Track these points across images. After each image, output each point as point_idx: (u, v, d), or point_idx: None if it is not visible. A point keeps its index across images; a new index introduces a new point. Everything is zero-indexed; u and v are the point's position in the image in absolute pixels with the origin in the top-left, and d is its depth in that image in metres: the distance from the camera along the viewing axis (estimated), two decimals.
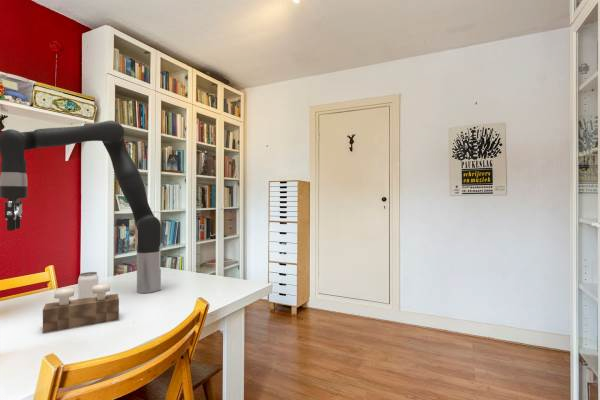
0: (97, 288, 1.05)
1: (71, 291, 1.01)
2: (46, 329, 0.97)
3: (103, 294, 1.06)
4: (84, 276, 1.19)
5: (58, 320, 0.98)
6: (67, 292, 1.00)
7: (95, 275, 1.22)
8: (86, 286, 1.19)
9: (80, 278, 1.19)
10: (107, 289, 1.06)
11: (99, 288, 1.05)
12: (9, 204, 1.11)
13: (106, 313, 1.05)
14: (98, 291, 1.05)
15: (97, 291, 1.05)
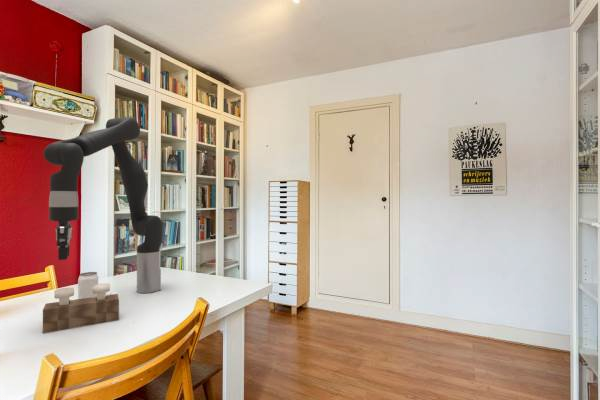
0: (97, 288, 1.05)
1: (71, 291, 1.01)
2: (46, 329, 0.97)
3: (103, 294, 1.06)
4: (84, 276, 1.19)
5: (58, 320, 0.98)
6: (67, 292, 1.00)
7: (95, 275, 1.22)
8: (86, 286, 1.19)
9: (80, 278, 1.19)
10: (107, 289, 1.06)
11: (99, 288, 1.05)
12: (61, 230, 0.96)
13: (106, 313, 1.05)
14: (98, 291, 1.05)
15: (97, 291, 1.05)
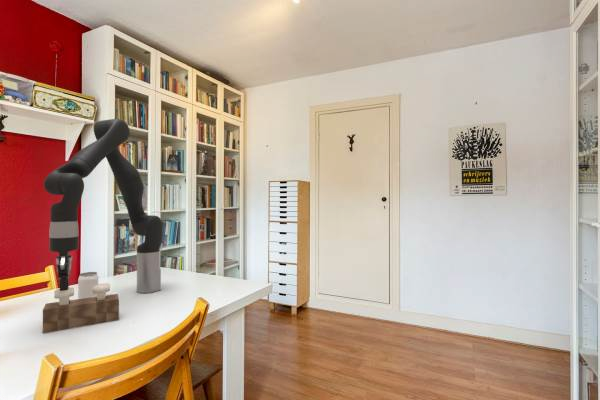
0: (97, 288, 1.05)
1: (71, 291, 1.01)
2: (46, 329, 0.97)
3: (103, 294, 1.06)
4: (84, 276, 1.19)
5: (58, 320, 0.98)
6: (67, 292, 1.00)
7: (95, 275, 1.22)
8: (86, 286, 1.19)
9: (80, 278, 1.19)
10: (107, 289, 1.06)
11: (99, 288, 1.05)
12: (62, 268, 0.97)
13: (106, 313, 1.05)
14: (98, 291, 1.05)
15: (97, 291, 1.05)
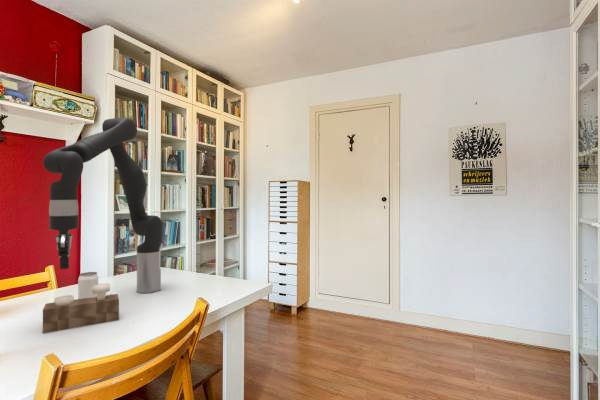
0: (97, 288, 1.05)
1: (71, 299, 1.01)
2: (46, 329, 0.97)
3: (103, 294, 1.06)
4: (84, 276, 1.19)
5: (58, 320, 0.98)
6: (67, 300, 1.00)
7: (95, 275, 1.22)
8: (86, 286, 1.19)
9: (80, 278, 1.19)
10: (107, 289, 1.06)
11: (99, 288, 1.05)
12: (62, 245, 0.97)
13: (106, 313, 1.05)
14: (98, 291, 1.05)
15: (97, 291, 1.05)
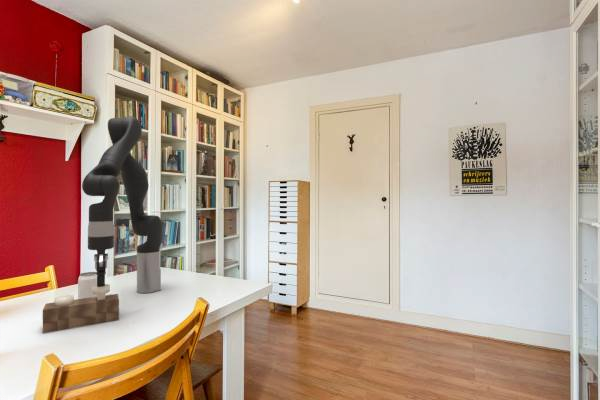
0: (97, 289, 1.05)
1: (71, 299, 1.01)
2: (46, 329, 0.97)
3: (103, 295, 1.06)
4: (84, 276, 1.19)
5: (58, 320, 0.98)
6: (67, 300, 1.00)
7: (95, 275, 1.22)
8: (86, 286, 1.19)
9: (80, 278, 1.19)
10: (107, 290, 1.06)
11: (99, 289, 1.05)
12: (101, 265, 1.02)
13: (106, 313, 1.05)
14: (98, 292, 1.05)
15: (97, 292, 1.05)
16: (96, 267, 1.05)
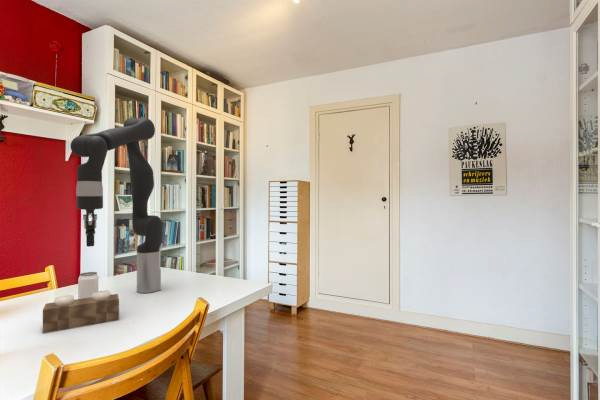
0: (97, 296, 1.05)
1: (71, 299, 1.01)
2: (46, 329, 0.97)
3: None
4: (84, 276, 1.19)
5: (58, 320, 0.98)
6: (67, 300, 1.00)
7: (95, 275, 1.22)
8: (86, 286, 1.19)
9: (80, 278, 1.19)
10: (107, 296, 1.06)
11: (99, 296, 1.05)
12: (90, 223, 1.03)
13: (106, 313, 1.05)
14: (98, 299, 1.05)
15: (97, 299, 1.05)
16: (85, 226, 1.06)
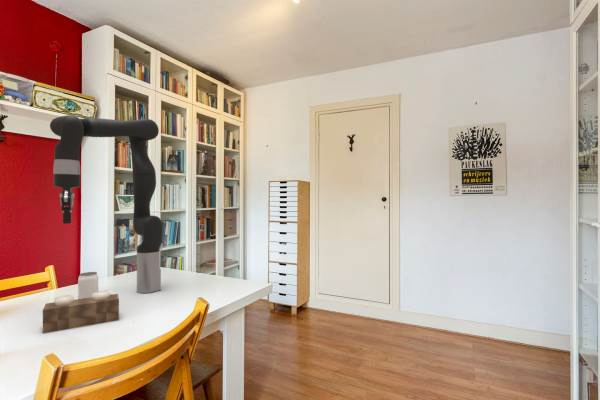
0: (97, 296, 1.05)
1: (71, 299, 1.01)
2: (46, 329, 0.97)
3: None
4: (84, 276, 1.19)
5: (58, 320, 0.98)
6: (67, 300, 1.00)
7: (95, 275, 1.22)
8: (86, 286, 1.19)
9: (80, 278, 1.19)
10: (107, 296, 1.06)
11: (99, 296, 1.05)
12: (65, 200, 1.06)
13: (106, 313, 1.05)
14: (98, 299, 1.05)
15: (97, 299, 1.05)
16: (62, 204, 1.09)
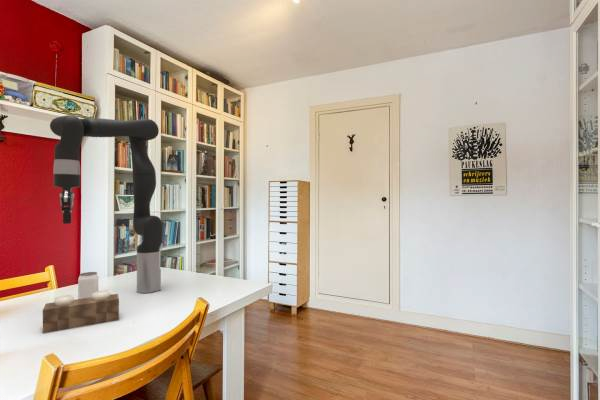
0: (97, 296, 1.05)
1: (71, 299, 1.01)
2: (46, 329, 0.97)
3: None
4: (84, 276, 1.19)
5: (58, 320, 0.98)
6: (67, 300, 1.00)
7: (95, 275, 1.22)
8: (86, 286, 1.19)
9: (80, 278, 1.19)
10: (107, 296, 1.06)
11: (99, 296, 1.05)
12: (65, 200, 1.06)
13: (106, 313, 1.05)
14: (98, 299, 1.05)
15: (97, 299, 1.05)
16: (62, 204, 1.09)
